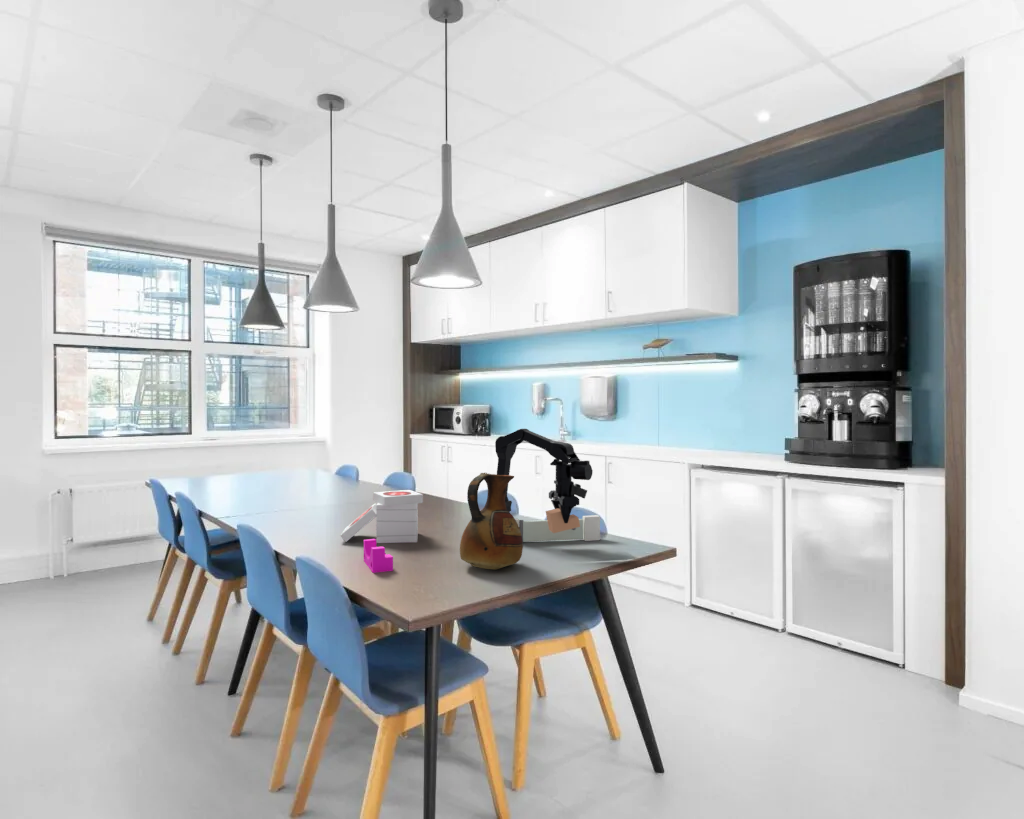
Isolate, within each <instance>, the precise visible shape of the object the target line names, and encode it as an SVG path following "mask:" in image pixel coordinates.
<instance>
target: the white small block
mask: <svg viewBox="0 0 1024 819" xmlns="http://www.w3.org/2000/svg"><path fill="white" fill-rule="evenodd" d="M514 519H515V520H516V522H517V523H518V526H519V520H520V519H518V518H515V517H514ZM582 519H583V539H582V540H583V541H584V542H585V541H586V542H587V541H588V542H589V541H590V542H591V541H601V516H600V515H598V514H596V515H595V514H593V515H591V514H590V515H582Z"/></svg>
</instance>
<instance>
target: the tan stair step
mask: <svg viewBox="0 0 1024 819" xmlns="http://www.w3.org/2000/svg"><path fill="white" fill-rule="evenodd" d="M545 515H546V520H547V521H548V526H549V530H550V531H551V532H553V533H557V532H561V531H565V530H569V529H573V528H577V527H580V523H579V519H580V518H579V516H577V515H575V514H570V517H569V520H568V523H564V520H563V517H562V514H561V511H560V509H559V508H557V509H555V508H554V509H550V510H545Z"/></svg>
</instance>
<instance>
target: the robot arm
mask: <svg viewBox="0 0 1024 819" xmlns="http://www.w3.org/2000/svg"><path fill="white" fill-rule="evenodd" d="M523 442H526V443H528V444H530V445H532V446H536V447H538V448H540V449H542V450H545V451H546V452H547V453H548V455H550V456H551V457H553V458H554V459H553V460H552V462H550V464H549V465H550V466H555V480H553V484H555V490H554V489H553V490H550V491H549V492H548V499H550V502H551V504H552V506H553V507H554V509H557V508H559V509H560V511H561V514H562V517H563V520H564V523H568V520H569V517H570V515H571V513H572V510H573V509H574V508H575V507H577V506H579V505H580V498H582V499H584V500H585V498H586V496H587V493H588V490H587V489H585V488H582V487H581V486H582V485H581V484H579V483H575V482H574V481H572V479H573V480H581V481H583V480H584V481H585V480H586V481H590V480H591V479H592V476H593V473H594V472H593V471H594V470H593V469H592V466H591V464H590V460H580V458H579V456H578V455H577V454H576V452H575V449H574V446H573V445H572V444H571V443H569V442H564V441H559V440H558V441H557V440H552V439H550V438H548V437H545V436H543V435H540V434H538V433H535V432H534V431H531V430H530V429H527V428H518V429H517V430H515V431H513V432H511V433H508V434H506V435H500V436H498V437H497V438H496V440H495V443H494V445H495V452H496V453H495V454H496V456H497V468H496V475H510V472H511V471H510V470H511V461H512V458H513V457H514V455H515V454H516V450H517V446H518V445H520V444H522V443H523ZM508 488H509V483H508V484H507V486H506V496H505V504H506V509H507V511H508V512H509V513H511V512H512V503H513V501H512V500H509V497H508ZM579 497H580V498H579Z"/></svg>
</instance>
